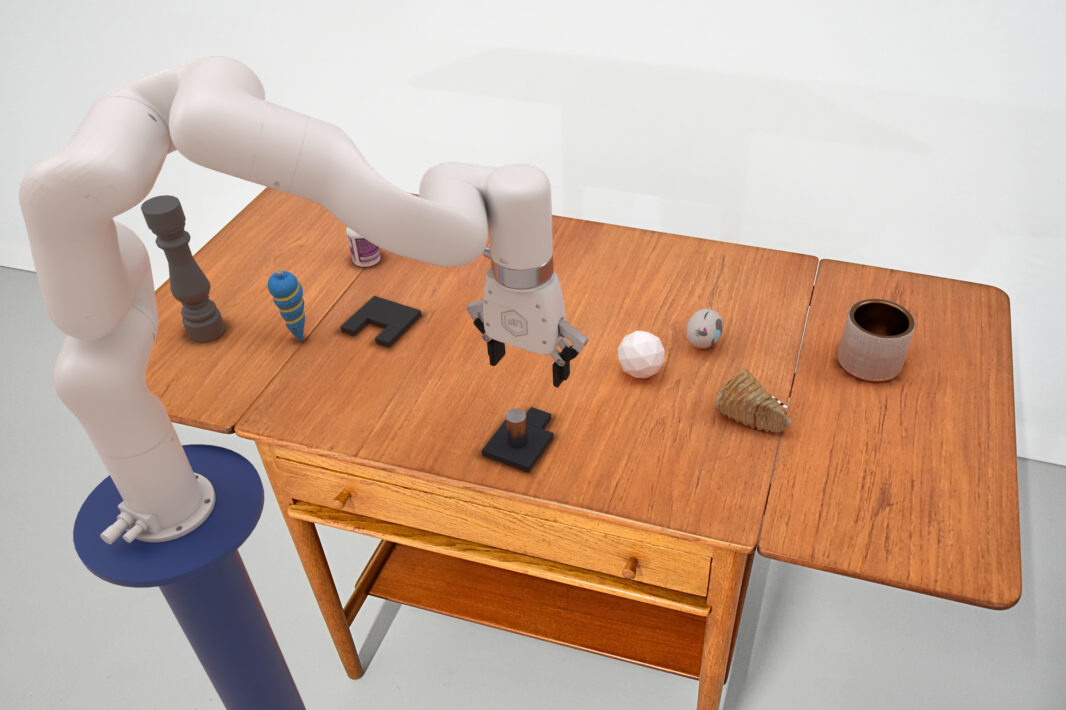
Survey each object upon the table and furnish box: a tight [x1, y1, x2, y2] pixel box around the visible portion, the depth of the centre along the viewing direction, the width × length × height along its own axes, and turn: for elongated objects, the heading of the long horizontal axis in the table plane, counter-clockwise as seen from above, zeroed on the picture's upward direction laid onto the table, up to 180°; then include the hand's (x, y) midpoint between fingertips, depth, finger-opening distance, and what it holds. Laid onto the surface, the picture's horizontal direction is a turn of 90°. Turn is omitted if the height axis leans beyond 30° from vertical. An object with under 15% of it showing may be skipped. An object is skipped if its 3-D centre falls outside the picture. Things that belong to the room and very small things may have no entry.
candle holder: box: [140, 194, 226, 344], centre depth 147 cm, size 6×6×25 cm
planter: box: [837, 298, 917, 382], centre depth 149 cm, size 11×11×10 cm
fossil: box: [715, 367, 792, 433], centre depth 141 cm, size 12×6×9 cm
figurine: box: [685, 306, 724, 349], centre depth 152 cm, size 8×6×7 cm
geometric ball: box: [617, 330, 666, 379], centre depth 147 cm, size 8×8×8 cm
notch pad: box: [339, 295, 423, 349], centre depth 157 cm, size 10×10×1 cm
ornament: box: [267, 269, 306, 342], centre depth 149 cm, size 5×5×15 cm
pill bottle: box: [345, 226, 381, 268], centre depth 169 cm, size 5×5×10 cm
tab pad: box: [481, 406, 554, 473], centre depth 135 cm, size 12×8×7 cm
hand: (528, 370), depth 121 cm, fingers open, 9 cm apart
